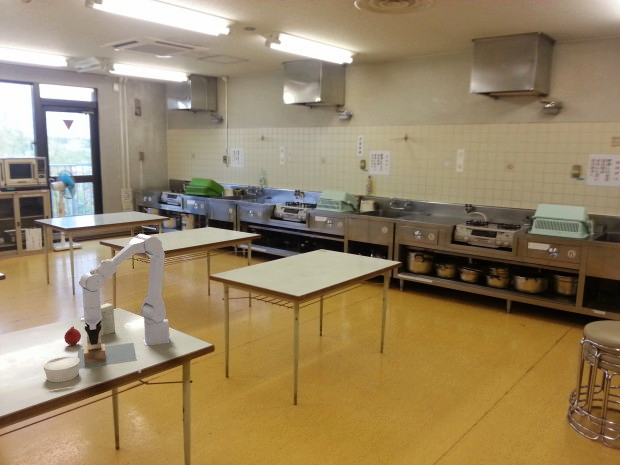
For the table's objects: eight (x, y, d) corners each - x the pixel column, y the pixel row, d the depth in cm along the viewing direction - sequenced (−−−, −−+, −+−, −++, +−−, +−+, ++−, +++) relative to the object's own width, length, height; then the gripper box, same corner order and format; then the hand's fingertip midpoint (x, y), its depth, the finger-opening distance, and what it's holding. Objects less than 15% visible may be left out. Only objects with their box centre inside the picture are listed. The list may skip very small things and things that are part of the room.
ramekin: (68, 367, 173) (67, 353, 172) (88, 375, 167) (87, 360, 166) (37, 379, 163) (36, 364, 162) (57, 388, 158) (56, 372, 157)
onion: (74, 349, 188) (73, 329, 187) (61, 348, 189) (60, 328, 188) (84, 343, 194) (83, 324, 192) (71, 342, 195) (70, 323, 193)
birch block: (101, 343, 181) (100, 330, 180) (101, 347, 177) (100, 334, 176) (87, 345, 179) (87, 332, 179) (87, 349, 175) (86, 336, 175)
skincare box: (109, 329, 209) (108, 302, 207) (115, 332, 206) (114, 304, 204) (95, 334, 204) (94, 306, 202) (101, 336, 201) (99, 308, 199)
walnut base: (105, 353, 184) (104, 343, 183) (105, 361, 177) (105, 350, 177) (85, 356, 181) (84, 346, 180) (84, 364, 174) (83, 353, 174)
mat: (133, 343, 195) (133, 342, 195) (136, 361, 178) (136, 360, 178) (78, 350, 187) (78, 349, 187) (76, 370, 170) (76, 369, 170)
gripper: (80, 301, 181) (82, 336, 183) (79, 313, 168) (81, 350, 170) (101, 299, 184) (103, 333, 186) (101, 311, 170) (103, 347, 173)
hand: (94, 341), depth 178 cm, fingers closed on birch block, 4 cm apart
